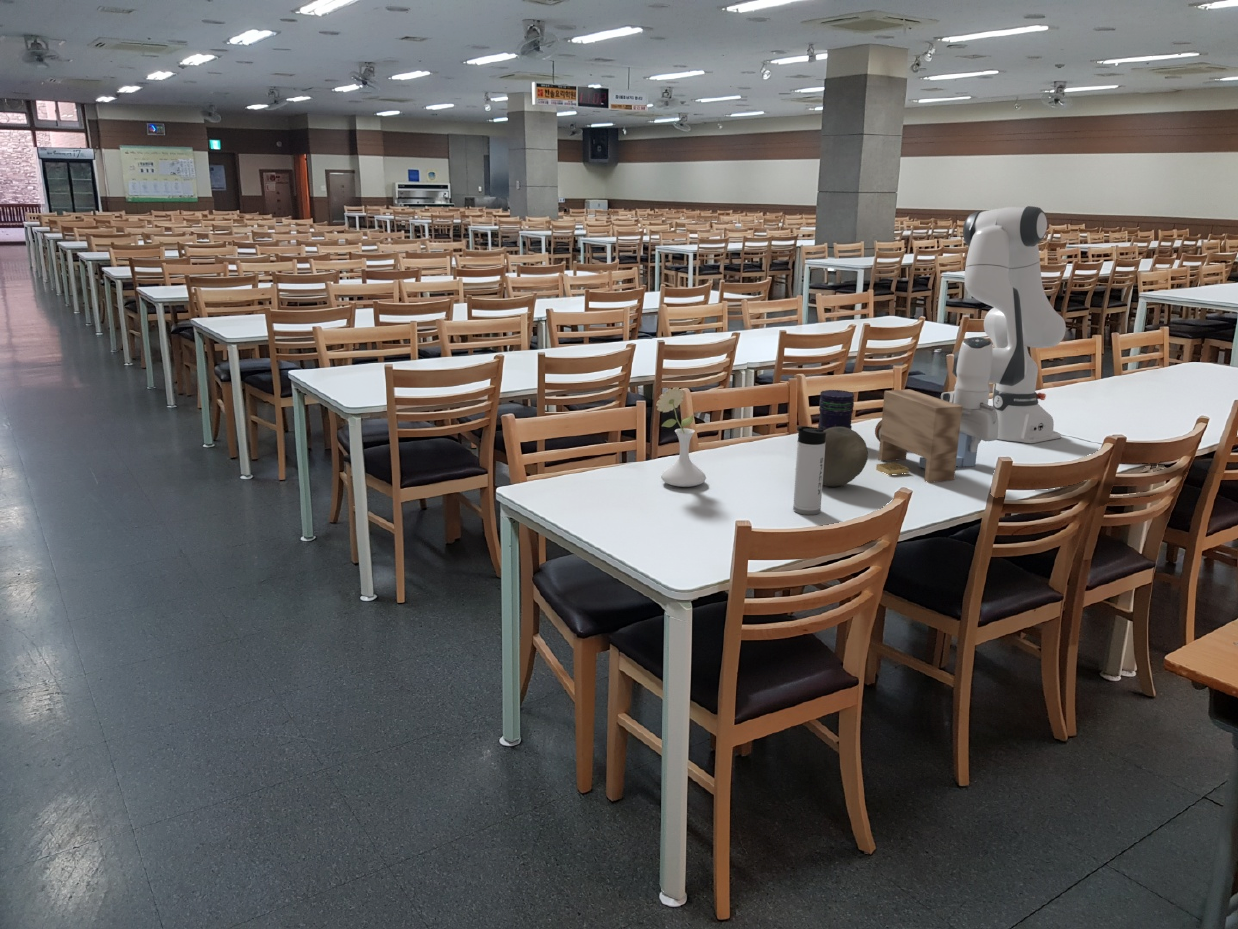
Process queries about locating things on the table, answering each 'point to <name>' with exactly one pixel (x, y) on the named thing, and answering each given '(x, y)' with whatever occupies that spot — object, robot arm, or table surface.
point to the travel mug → (809, 470)
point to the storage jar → (835, 409)
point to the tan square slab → (892, 468)
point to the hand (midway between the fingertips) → (965, 449)
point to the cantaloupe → (843, 456)
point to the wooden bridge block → (921, 431)
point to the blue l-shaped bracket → (960, 453)
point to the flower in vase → (683, 468)
